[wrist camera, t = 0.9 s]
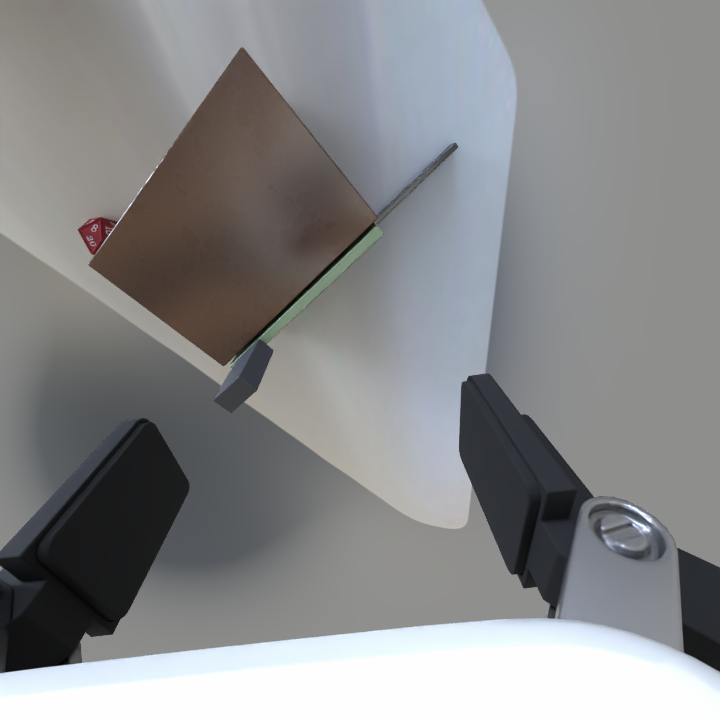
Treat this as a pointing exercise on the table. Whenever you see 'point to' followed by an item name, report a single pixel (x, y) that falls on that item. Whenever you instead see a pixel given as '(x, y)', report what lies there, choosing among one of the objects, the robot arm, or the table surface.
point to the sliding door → (257, 352)
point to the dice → (96, 232)
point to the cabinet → (236, 217)
